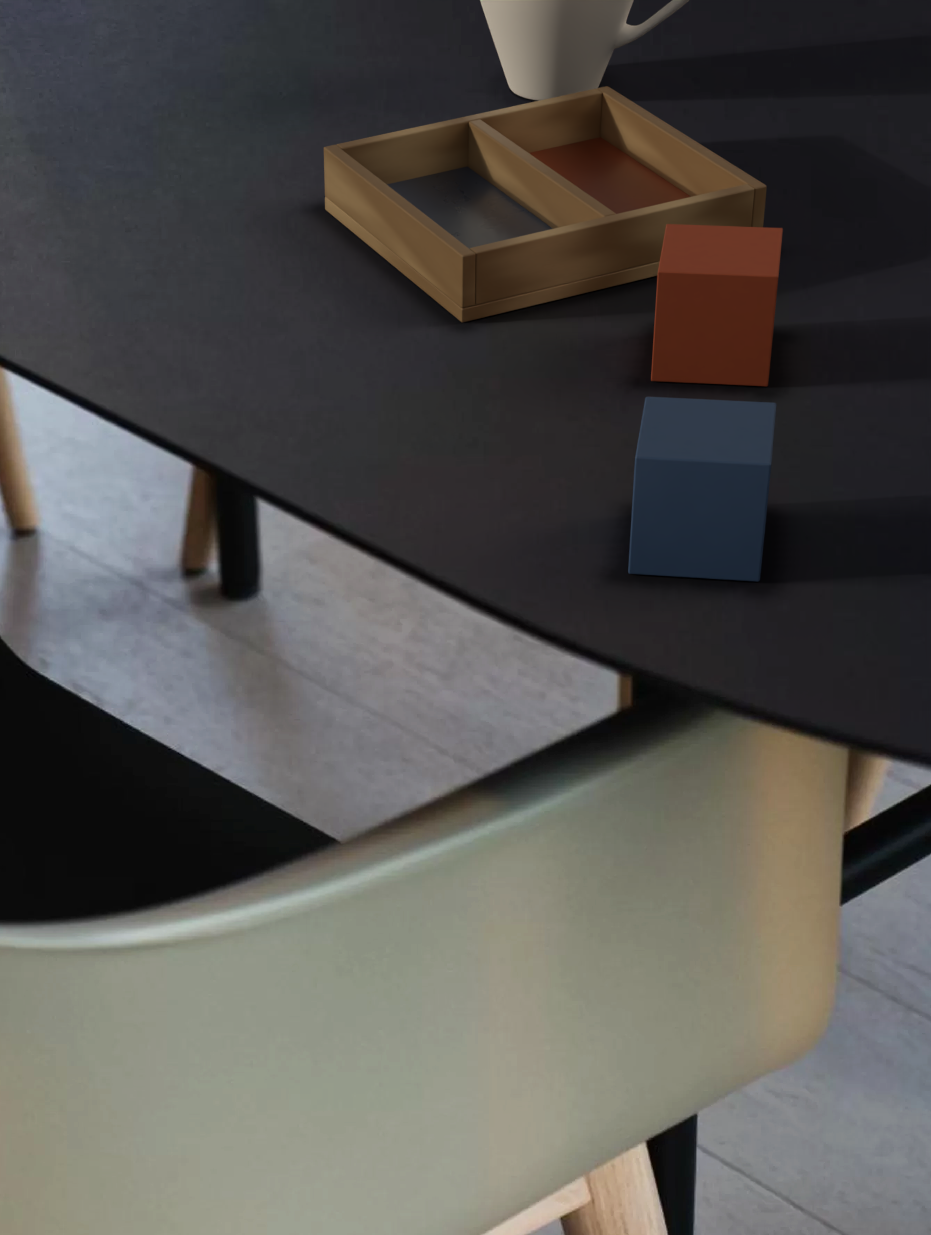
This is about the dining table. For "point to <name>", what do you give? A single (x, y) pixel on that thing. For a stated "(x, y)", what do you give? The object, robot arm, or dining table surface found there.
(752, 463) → the blue block
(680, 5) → the mug
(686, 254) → the terracotta block
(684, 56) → the dining table surface
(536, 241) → the tray
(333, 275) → the dining table surface
